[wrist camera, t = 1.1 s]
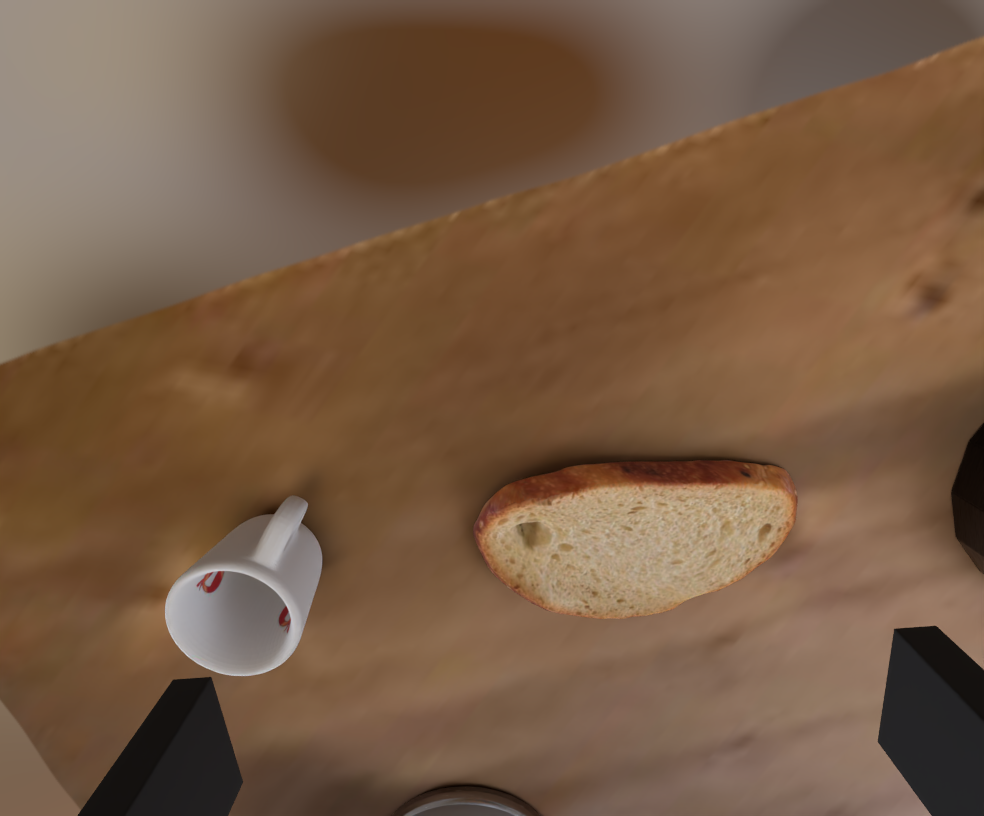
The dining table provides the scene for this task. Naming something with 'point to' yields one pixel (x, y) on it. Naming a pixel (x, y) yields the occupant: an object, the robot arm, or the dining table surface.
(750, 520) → the bread slice
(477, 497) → the dining table surface
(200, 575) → the cup
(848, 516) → the dining table surface
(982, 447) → the pan
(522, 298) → the dining table surface
